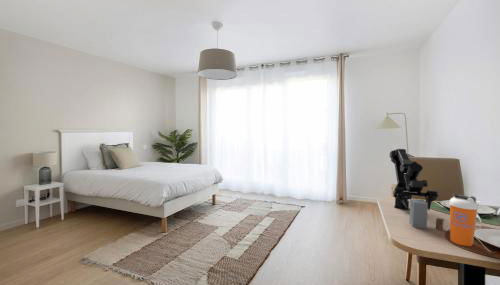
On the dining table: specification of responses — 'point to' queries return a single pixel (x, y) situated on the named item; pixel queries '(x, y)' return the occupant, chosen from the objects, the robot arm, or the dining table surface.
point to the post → (439, 223)
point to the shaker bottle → (462, 219)
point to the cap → (418, 213)
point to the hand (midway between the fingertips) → (418, 208)
